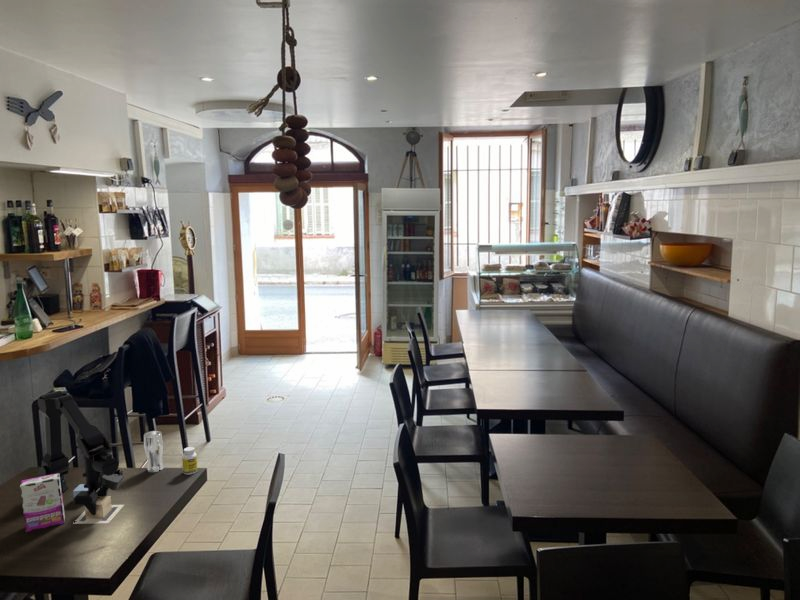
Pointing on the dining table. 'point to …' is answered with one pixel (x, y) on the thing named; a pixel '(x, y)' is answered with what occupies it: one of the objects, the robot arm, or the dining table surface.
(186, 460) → the supplement bottle
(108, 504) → the oak block
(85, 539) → the dining table surface
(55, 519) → the candy bar box
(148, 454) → the beer glass
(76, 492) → the blue cube
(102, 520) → the letter board
